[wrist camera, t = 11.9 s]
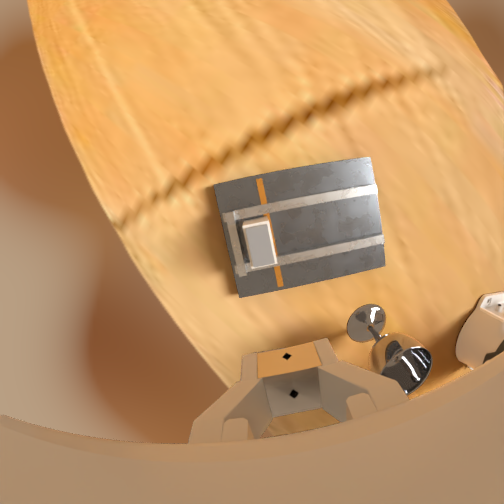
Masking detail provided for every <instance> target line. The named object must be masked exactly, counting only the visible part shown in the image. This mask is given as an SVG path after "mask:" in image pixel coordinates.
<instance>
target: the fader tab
mask: <svg viewBox="0 0 504 504" xmlns="http://www.w3.org/2000/svg"><path fill="white" fill-rule="evenodd" d="M242 227H243V232H244V236H245V241H246V245H247V250H248V254H249V259H250V264H251V268H252V269H253V268H258V267H263V266H268V265H273V264H278V263H277V258H276V253H275V248H274V243H273V238H272V233H271V228H270V223H269V220H268V218H267V216H263V217H259V218H254V219H249V220H244V222H243V225H242Z"/></svg>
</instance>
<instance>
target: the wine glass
mask: <svg viewBox="0 0 504 504" xmlns="http://www.w3.org/2000/svg"><path fill="white" fill-rule="evenodd" d="M385 323H386V315H385V312H384V310H383V309H382V308H381V307H380V306H378V305H375V304H367V305H364V306H361V307H360V308H358V309H357V310H356V311H355V312H354V313H353V314H352V315H351V317H350V319H349V321H348V324H347V331H348V334H349V336H350V338H351V339H353V340H354V341H356V342H362V343H363V342H368V341H371V340H373V339H375V341H376V343H375V344H374V345H373V347H372V349H371V351H370V354H369V368H370V371H371V372H374V373H377V374H379V375H382V376H385V377H388V378H390V379H393V380H396V381H397V382H398V383H399V385H400V386H401V388H402V389H403V391H404V392H405V394H406V395H409V394H411V393H412V392H414V391H415V390H416V389H417V388H419V387H420V386H421V385H422V384H423V382H424V381H425V380H426V378H427V377H428V375H429V373H430V371H431V368H432V356H431V354H430V352H429V351H428V350H427V349H426V348H425V347H424V346H423V345H422V344H421V343H420V342H419V341H418V340H416V339H414V338H413V337H411V336H409V335H407V334H404V333H400V332H394V333H389V334H386V335H384V336H381V335H380V333H381V332H382V330H383V329H384V326H385Z"/></svg>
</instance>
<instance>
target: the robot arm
mask: <svg viewBox="0 0 504 504" xmlns="http://www.w3.org/2000/svg"><path fill="white" fill-rule="evenodd" d="M456 357H457V359H458V360H459V361H460V362H462V363H464V364H466V365H467V366H468V368H470V369H471V370H472V371H470V372H468V373H466V374H464V375H462V376H460V377H458V378H456V379H454V380H452V381H450V382H448V383H446V384H444V385H442V386H440V387H438V388H436V389H434V390H431V391H429V392H427V393H425V394H422V395H420V396H418V397H415V398H413V399H410V400H409V398H408V397H407V395H406V394H405V392H404V391H403V389H402V388H401V386H400V385H399V383H398V382H397V381H396V380H393V379H390V378H388V377H385V376H382V375H379V374H377V373H374V372H371V371H369V370H366V369H363V368H361V367H358V366H355V365H353V364H350V363H348V362H345V361H338V359H337V356H336V354H335V352H334V350H333V348H332V346H331V344H330V342H329V340H328V338H323V339H320V340H316V341H312V342H308V343H304V344H300V345H296V346H292V347H287V348H280V349H275V350H269V351H263V352H258V353H257V352H255V353H250V354H244V355H243V356H242V367H241V381H239V382H236V383H235V384H234V385H233V386H232V387H231V388H229V389H228V390H227V391H226V392H225V393H224V394H223V395H222V396H221V397H220V398H219V399H218V400H216V401H215V402H214V403H213V404H212V405H211V406H210V407H209V408H208V409H206V410H205V411H204V412H203V413H202V414H201V415H200V416H198V418H196V419H195V420H194V421H193V425H192V429H191V433H190V437H189V441H188V444H168V443H144V442H130V441H120V440H111V439H103V438H96V437H90V436H83V435H78V434H73V433H68V432H63V431H59V430H54V429H50V428H46V427H42V426H38V425H35V424H31V423H27V422H25V421H21V420H18V419H15V418H12V417H9V416H6V415H0V504H504V291H503V292H497V293H491V294H485V295H483V296H482V297H481V298H480V300H479V302H478V304H477V307H476V309H475V310H474V312H473V313H472V314H471V315H470V317H469V318H468V319H467V321H466V322H465V324H464V326H463V327H462V329H461V332H460V334H459V337H458V340H457V343H456ZM319 408H322V409H323V410H325V411H326V412H328V413H329V414H330V415H332V416H333V417H334V418H336V419H337V420H339V421H340V422H341V423H337V424H333V425H329V426H325V427H321V428H317V429H312V430H307V431H302V432H297V433H292V434H286V435H280V436H274V437H267V438H261V436H262V435H263V433H264V432H265V430H266V429H267V427H268V426H269V424H270V423H271V421H272V419H273V417H279V416H284V415H288V414H293V413H297V412H303V411H309V410H314V409H319Z"/></svg>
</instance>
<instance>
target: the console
mask: <svg viewBox="0 0 504 504" xmlns="http://www.w3.org/2000/svg"><path fill="white" fill-rule="evenodd" d="M214 190H215V194H216V199H217V203H218V208H219V212H220V217H221V221H222V226H223V230H224V234H225V239H226V243H227V248H228V252H229V256H230V260H231V265H232V269H233V273H234V277H235V282H236V286H237V290H238V294H239V298H242V297H247V296H252V295H258V294H263V293H268V292H273V291H278V290H282V289H287V288H292V287H297V286H301V285H306V284H311V283H315V282H320V281H324V280H329V279H333V278H337V277H342V276H346V275H350V274H354V273H359V272H363V271H367V270H371V269H375V268H379V267H383V266H385V254H384V243H385V242H384V235H383V234H382V226H381V218H380V210H379V204H378V197H377V193H378V190H377V184H375V179H374V174H373V168H372V163H371V158H370V157H365V158H357V159H349V160H342V161H335V162H328V163H322V164H316V165H310V166H304V167H298V168H292V169H287V170H281V171H276V172H271V173H266V174H261V175H256V176H251V177H246V178H241V179H237V180H232V181H228V182H223V183H219V184H215V185H214ZM263 216H267V218H268V220H269V223H270V228H271V233H272V238H273V243H274V248H275V253H276V258H277V263H278V264H273V265H268V266H263V267H258V268H253V269H252V268H251V264H250V259H249V254H248V250H247V245H246V241H245V236H244V232H243V227H242V225H243V222H244V220H249V219H254V218H259V217H263Z"/></svg>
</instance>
